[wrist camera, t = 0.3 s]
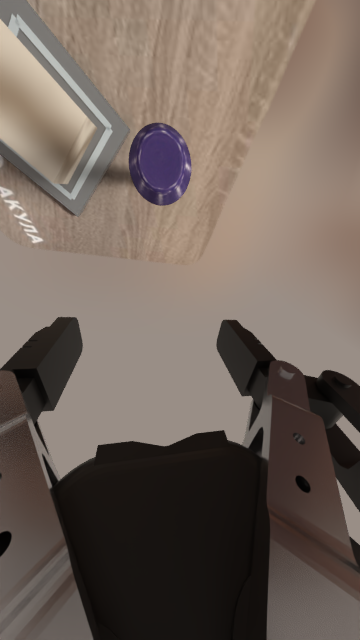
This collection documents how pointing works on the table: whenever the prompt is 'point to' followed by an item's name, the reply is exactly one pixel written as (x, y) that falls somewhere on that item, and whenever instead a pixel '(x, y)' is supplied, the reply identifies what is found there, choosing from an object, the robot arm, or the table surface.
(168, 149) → the toy lamp
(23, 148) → the cream block
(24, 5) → the slate board
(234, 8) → the table surface
